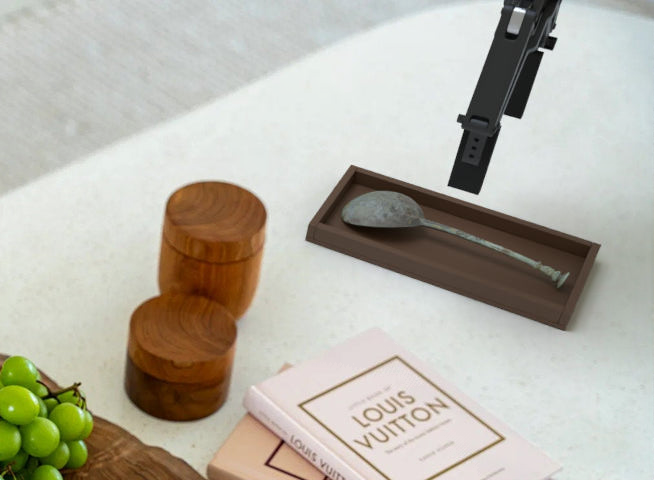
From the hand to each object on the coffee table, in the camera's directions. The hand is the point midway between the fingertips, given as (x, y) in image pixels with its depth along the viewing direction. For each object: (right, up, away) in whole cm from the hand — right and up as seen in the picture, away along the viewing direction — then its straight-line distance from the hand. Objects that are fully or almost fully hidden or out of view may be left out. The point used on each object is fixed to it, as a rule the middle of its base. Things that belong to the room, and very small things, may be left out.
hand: (486, 149), depth 103 cm
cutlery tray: (-1, -8, +8) cm, 12 cm away
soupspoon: (-1, -8, +8) cm, 11 cm away
